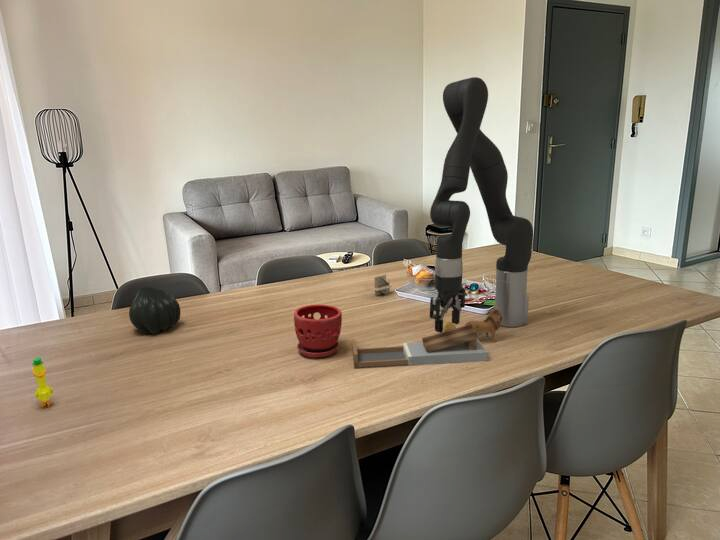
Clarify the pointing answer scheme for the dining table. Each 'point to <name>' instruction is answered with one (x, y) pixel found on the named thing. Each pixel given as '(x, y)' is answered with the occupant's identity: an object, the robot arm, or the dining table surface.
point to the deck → (443, 354)
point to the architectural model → (381, 285)
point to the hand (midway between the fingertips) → (447, 327)
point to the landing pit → (378, 357)
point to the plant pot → (317, 330)
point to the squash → (154, 310)
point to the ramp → (452, 339)
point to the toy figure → (41, 382)
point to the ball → (448, 326)
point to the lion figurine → (488, 324)
